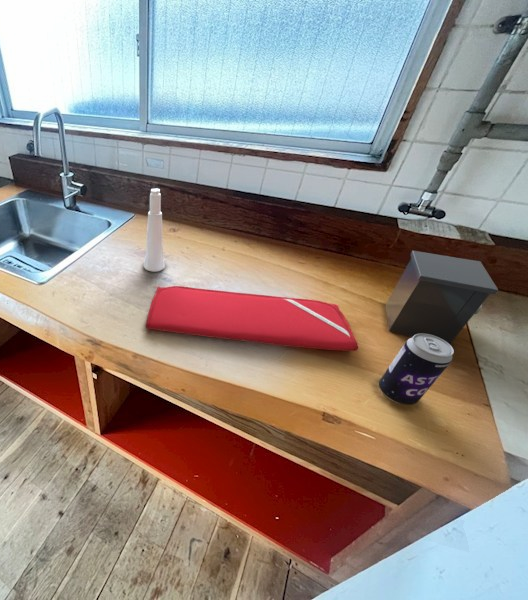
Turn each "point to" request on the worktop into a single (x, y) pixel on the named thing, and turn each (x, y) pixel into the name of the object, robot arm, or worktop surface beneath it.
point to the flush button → (478, 309)
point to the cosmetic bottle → (154, 234)
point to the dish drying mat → (251, 318)
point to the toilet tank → (437, 295)
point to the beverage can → (415, 368)
